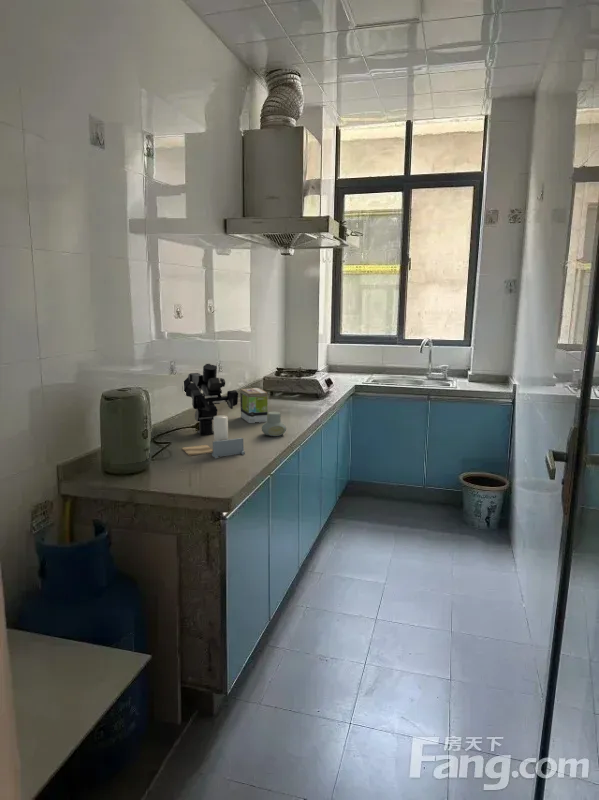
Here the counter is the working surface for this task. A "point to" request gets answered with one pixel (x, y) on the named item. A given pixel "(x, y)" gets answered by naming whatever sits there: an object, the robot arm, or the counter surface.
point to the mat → (197, 450)
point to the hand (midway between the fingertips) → (221, 408)
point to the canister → (220, 427)
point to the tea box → (254, 405)
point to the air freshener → (273, 425)
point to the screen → (228, 447)
